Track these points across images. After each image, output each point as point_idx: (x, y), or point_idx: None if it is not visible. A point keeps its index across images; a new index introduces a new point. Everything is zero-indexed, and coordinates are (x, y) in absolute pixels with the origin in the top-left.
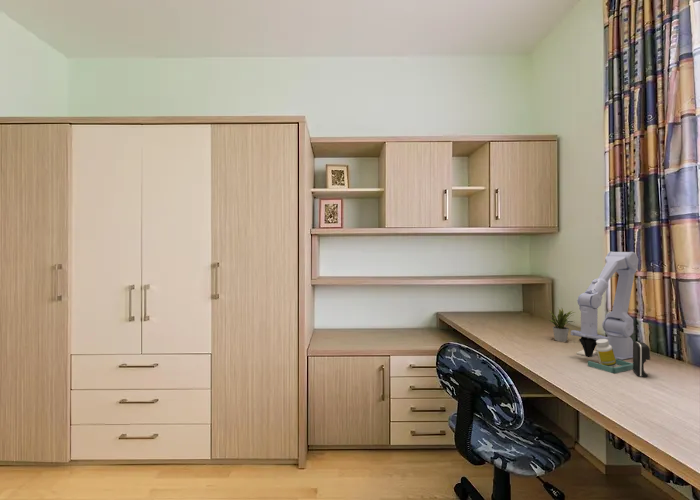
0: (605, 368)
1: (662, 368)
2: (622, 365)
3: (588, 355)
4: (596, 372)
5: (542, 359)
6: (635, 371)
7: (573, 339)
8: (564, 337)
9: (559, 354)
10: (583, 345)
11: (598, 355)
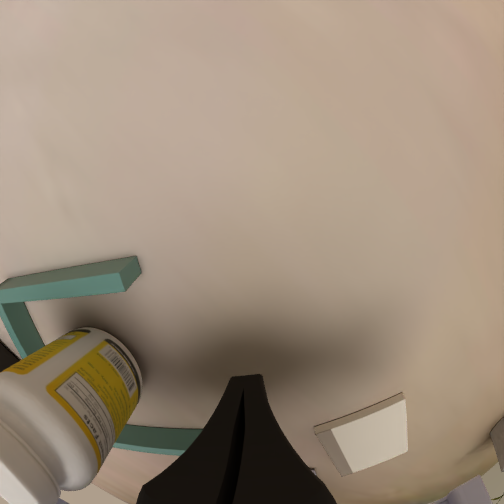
0: (26, 280)
1: (110, 472)
2: (128, 427)
3: (228, 385)
4: (17, 189)
5: (406, 28)
6: (12, 364)
7: (476, 454)
8: (500, 436)
9: (459, 288)
10: (269, 450)
11: (62, 363)
